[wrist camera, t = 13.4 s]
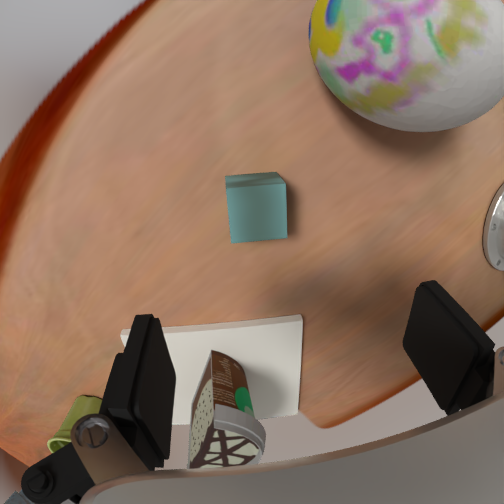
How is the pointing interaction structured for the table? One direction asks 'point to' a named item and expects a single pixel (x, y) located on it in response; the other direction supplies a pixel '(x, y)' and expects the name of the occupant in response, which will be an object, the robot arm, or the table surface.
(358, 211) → the table surface
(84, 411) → the plant pot
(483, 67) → the decorative egg
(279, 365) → the cream board
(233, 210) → the teal block
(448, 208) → the table surface
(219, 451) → the food container
